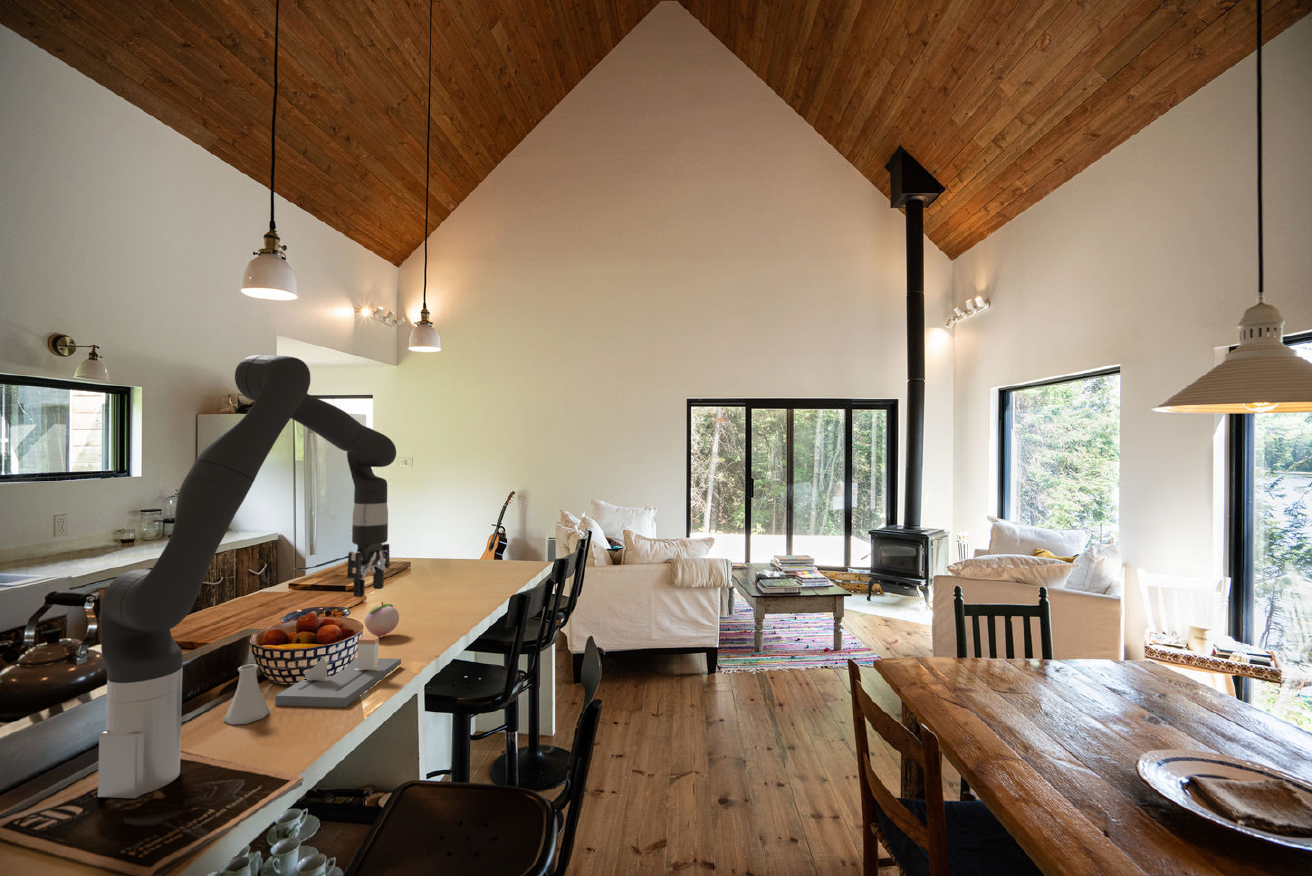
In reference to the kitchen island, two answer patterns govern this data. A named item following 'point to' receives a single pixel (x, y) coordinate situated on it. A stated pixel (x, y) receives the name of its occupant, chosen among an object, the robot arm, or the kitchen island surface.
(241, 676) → the flask
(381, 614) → the decorative fruit
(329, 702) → the gray slotted board
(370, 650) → the fader
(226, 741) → the kitchen island surface
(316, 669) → the fader
